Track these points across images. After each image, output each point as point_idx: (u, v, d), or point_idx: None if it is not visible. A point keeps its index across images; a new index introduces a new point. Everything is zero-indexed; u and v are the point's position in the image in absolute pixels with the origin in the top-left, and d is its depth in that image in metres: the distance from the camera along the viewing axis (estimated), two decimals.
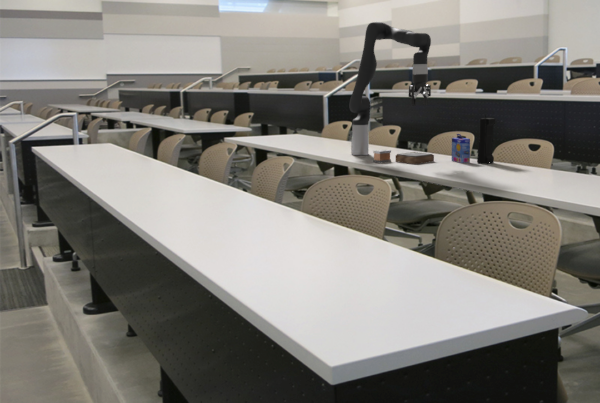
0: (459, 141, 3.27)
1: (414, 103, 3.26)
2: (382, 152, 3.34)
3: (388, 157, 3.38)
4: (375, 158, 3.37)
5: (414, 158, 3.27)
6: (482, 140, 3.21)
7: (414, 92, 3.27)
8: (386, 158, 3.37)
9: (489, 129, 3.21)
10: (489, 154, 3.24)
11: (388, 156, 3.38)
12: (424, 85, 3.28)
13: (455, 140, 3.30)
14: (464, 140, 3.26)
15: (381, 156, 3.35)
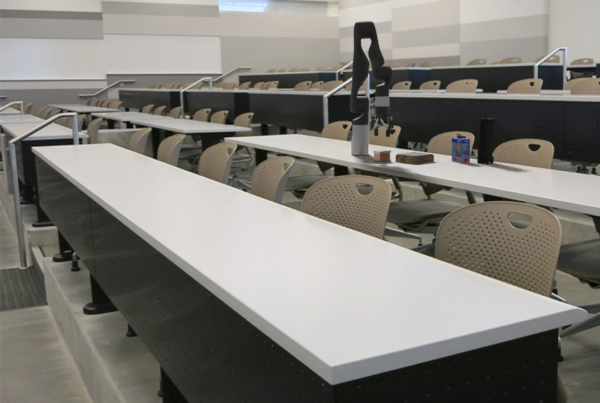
0: (459, 141, 3.27)
1: None
2: (382, 152, 3.34)
3: (388, 157, 3.38)
4: (375, 158, 3.37)
5: (414, 158, 3.27)
6: (482, 140, 3.21)
7: (386, 123, 3.32)
8: (386, 158, 3.37)
9: (489, 129, 3.21)
10: (489, 154, 3.24)
11: (388, 156, 3.38)
12: None
13: (455, 140, 3.30)
14: (464, 140, 3.26)
15: (381, 156, 3.35)
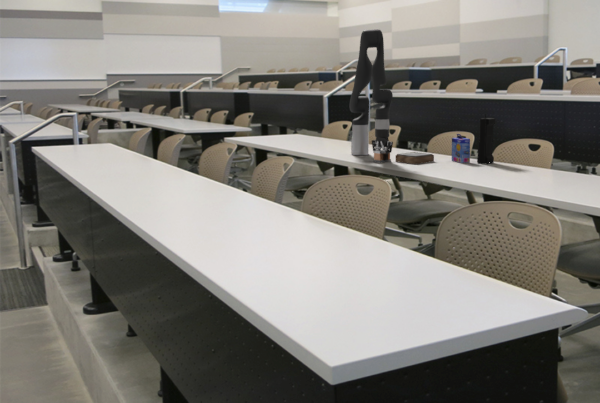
0: (459, 141, 3.27)
1: None
2: (382, 152, 3.34)
3: (388, 157, 3.38)
4: (375, 158, 3.37)
5: (414, 158, 3.27)
6: (482, 140, 3.21)
7: None
8: None
9: (489, 129, 3.21)
10: (489, 154, 3.24)
11: (388, 156, 3.38)
12: None
13: (455, 140, 3.30)
14: (464, 140, 3.26)
15: (381, 156, 3.35)
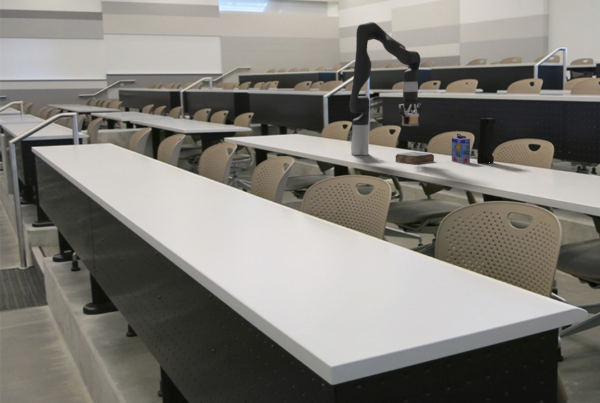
0: (459, 141, 3.27)
1: None
2: None
3: None
4: (412, 122, 3.29)
5: (414, 158, 3.27)
6: (482, 140, 3.21)
7: None
8: None
9: (489, 129, 3.21)
10: (489, 154, 3.24)
11: None
12: None
13: (455, 140, 3.30)
14: (464, 140, 3.26)
15: None
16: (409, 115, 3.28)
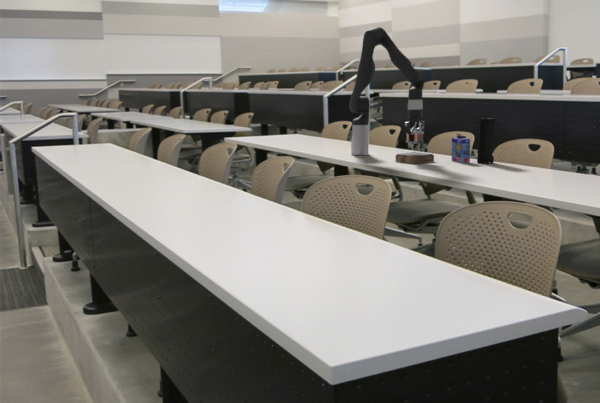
0: (459, 141, 3.27)
1: None
2: None
3: None
4: (418, 139, 3.30)
5: (414, 158, 3.27)
6: (482, 140, 3.21)
7: None
8: None
9: (489, 129, 3.21)
10: (489, 154, 3.24)
11: None
12: None
13: (455, 140, 3.30)
14: (464, 140, 3.26)
15: None
16: (415, 133, 3.30)
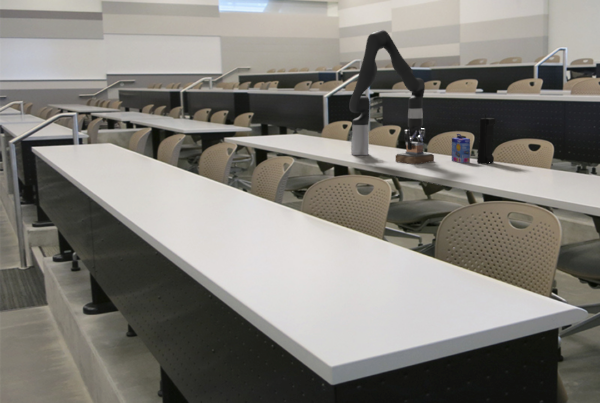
0: (459, 141, 3.27)
1: None
2: None
3: None
4: (418, 150, 3.32)
5: (414, 158, 3.27)
6: (482, 140, 3.21)
7: None
8: None
9: (489, 129, 3.21)
10: (489, 154, 3.24)
11: None
12: None
13: (455, 140, 3.30)
14: (464, 140, 3.26)
15: None
16: (415, 144, 3.31)
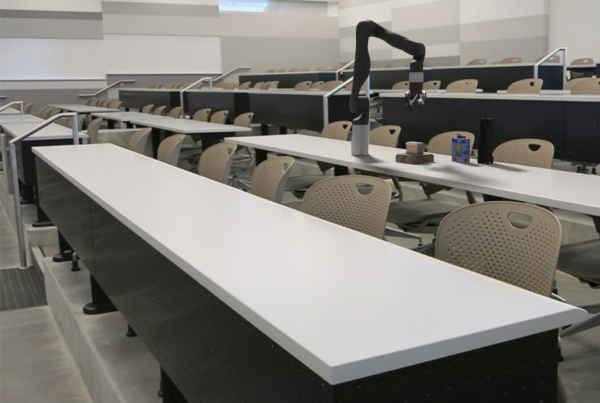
0: (459, 141, 3.27)
1: None
2: None
3: None
4: (418, 150, 3.32)
5: (414, 158, 3.27)
6: (482, 140, 3.21)
7: None
8: None
9: (489, 129, 3.21)
10: (489, 154, 3.24)
11: None
12: None
13: (455, 140, 3.30)
14: (464, 140, 3.26)
15: None
16: (415, 144, 3.31)
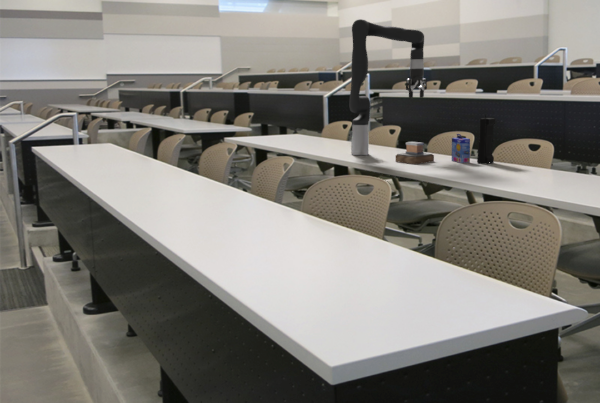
0: (459, 141, 3.27)
1: None
2: None
3: None
4: (418, 150, 3.32)
5: (414, 158, 3.27)
6: (482, 140, 3.21)
7: None
8: None
9: (489, 129, 3.21)
10: (489, 154, 3.24)
11: None
12: None
13: (455, 140, 3.30)
14: (464, 140, 3.26)
15: None
16: (415, 144, 3.31)
